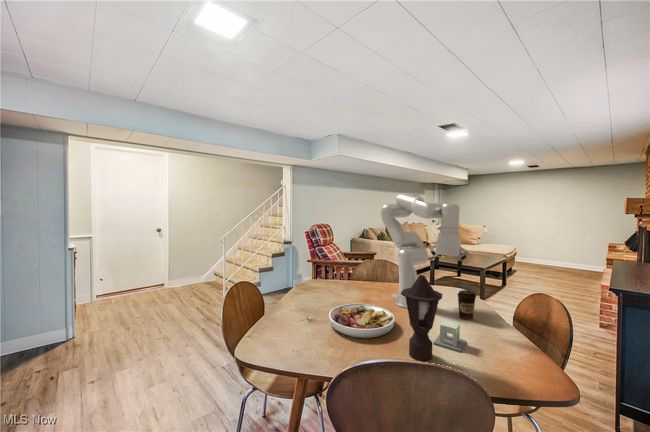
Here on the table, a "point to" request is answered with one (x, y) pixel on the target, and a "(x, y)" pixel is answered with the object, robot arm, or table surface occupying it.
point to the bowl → (361, 320)
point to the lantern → (421, 317)
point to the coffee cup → (466, 304)
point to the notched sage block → (450, 331)
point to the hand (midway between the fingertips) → (447, 267)
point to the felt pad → (450, 343)
